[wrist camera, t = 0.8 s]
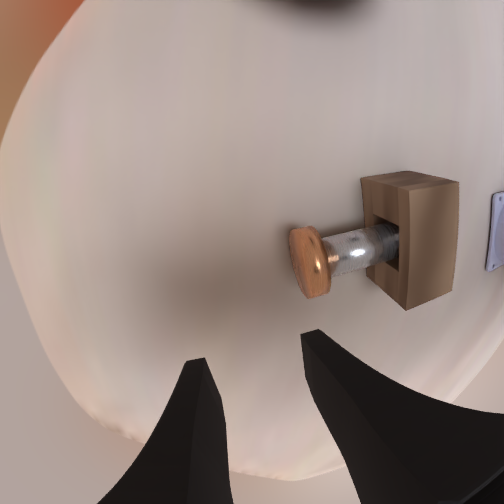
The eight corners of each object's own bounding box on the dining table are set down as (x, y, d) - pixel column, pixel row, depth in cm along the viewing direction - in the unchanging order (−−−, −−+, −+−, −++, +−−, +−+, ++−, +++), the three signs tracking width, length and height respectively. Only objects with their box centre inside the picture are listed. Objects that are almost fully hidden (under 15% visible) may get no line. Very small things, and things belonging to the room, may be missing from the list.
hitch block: (408, 170, 17) (458, 181, 13) (409, 262, 20) (451, 290, 15) (360, 177, 17) (408, 190, 12) (366, 276, 20) (405, 310, 15)
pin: (375, 203, 17) (411, 217, 13) (377, 257, 18) (409, 281, 15) (285, 221, 17) (307, 242, 13) (294, 280, 18) (315, 312, 14)
